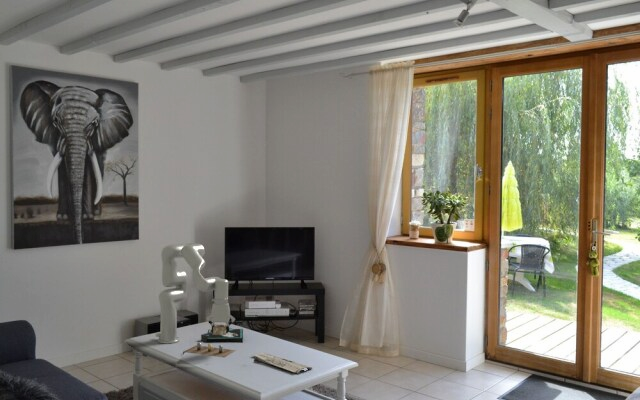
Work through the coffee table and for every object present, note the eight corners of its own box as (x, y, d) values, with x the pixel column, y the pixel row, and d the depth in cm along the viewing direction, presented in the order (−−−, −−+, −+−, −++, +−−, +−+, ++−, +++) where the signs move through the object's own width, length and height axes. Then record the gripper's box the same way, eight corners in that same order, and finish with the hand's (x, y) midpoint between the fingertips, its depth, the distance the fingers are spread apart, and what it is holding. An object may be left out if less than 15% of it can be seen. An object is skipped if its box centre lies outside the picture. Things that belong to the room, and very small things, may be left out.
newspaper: (312, 370, 304) (312, 363, 304) (295, 376, 295) (295, 369, 294) (265, 356, 327) (265, 349, 327) (249, 361, 318) (249, 354, 318)
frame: (213, 334, 322) (213, 327, 322) (215, 331, 329) (215, 324, 329) (225, 335, 322) (225, 327, 322) (227, 331, 329) (227, 324, 329)
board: (182, 354, 326) (183, 345, 326) (196, 347, 339) (196, 338, 339) (224, 360, 317) (224, 350, 317) (236, 352, 330) (236, 343, 330)
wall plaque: (190, 341, 354) (224, 350, 336) (190, 334, 354) (224, 343, 336) (225, 331, 378) (259, 339, 360) (226, 325, 378) (259, 333, 360)
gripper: (204, 302, 321) (203, 334, 322) (235, 303, 321) (234, 335, 322) (206, 299, 328) (206, 330, 329) (237, 300, 329) (236, 331, 329)
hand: (220, 332), depth 326 cm, fingers closed on frame, 7 cm apart
